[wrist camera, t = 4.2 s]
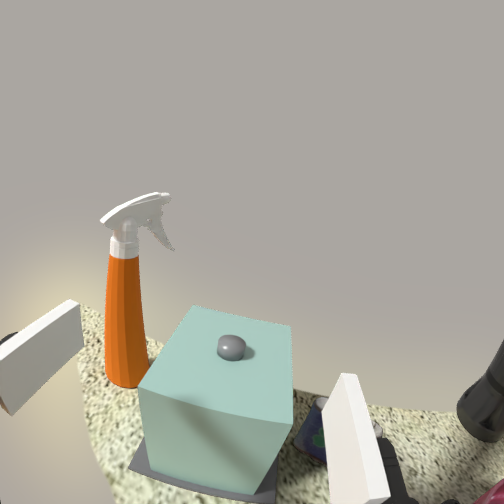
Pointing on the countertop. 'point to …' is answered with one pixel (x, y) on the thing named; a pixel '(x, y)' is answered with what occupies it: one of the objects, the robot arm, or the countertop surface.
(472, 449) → the countertop surface
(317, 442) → the flask
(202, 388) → the box
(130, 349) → the spray bottle
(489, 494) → the plant pot
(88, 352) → the countertop surface
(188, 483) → the rubber mat
